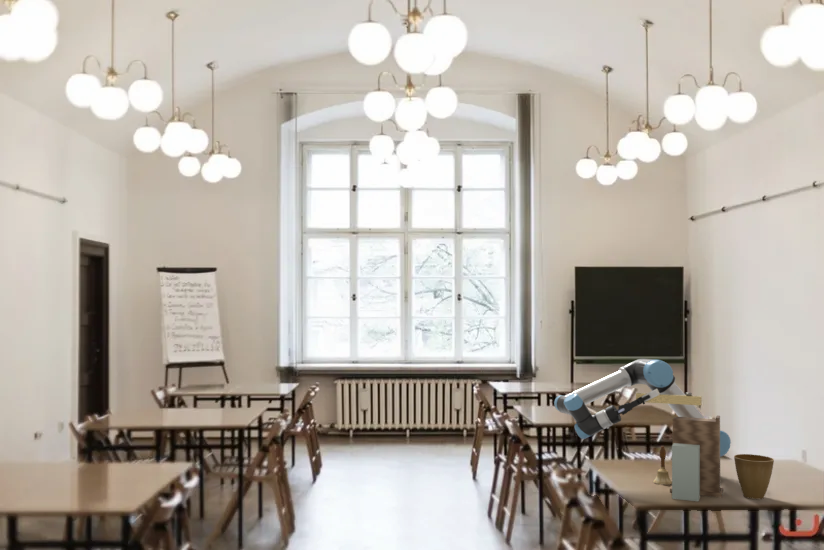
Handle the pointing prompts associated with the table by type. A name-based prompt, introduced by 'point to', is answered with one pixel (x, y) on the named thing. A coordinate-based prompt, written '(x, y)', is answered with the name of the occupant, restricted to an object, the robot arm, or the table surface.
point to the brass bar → (674, 399)
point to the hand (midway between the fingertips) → (657, 391)
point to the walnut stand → (702, 449)
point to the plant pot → (753, 474)
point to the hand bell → (662, 470)
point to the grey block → (686, 472)
